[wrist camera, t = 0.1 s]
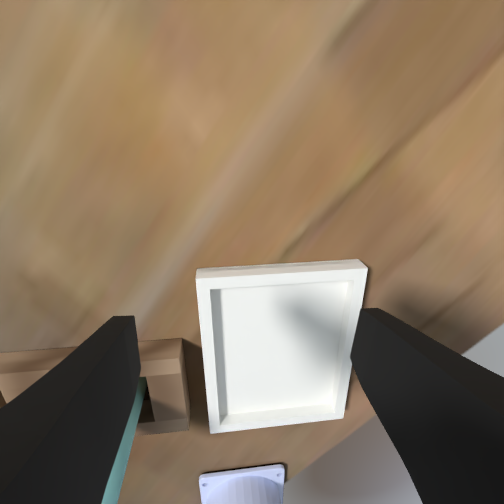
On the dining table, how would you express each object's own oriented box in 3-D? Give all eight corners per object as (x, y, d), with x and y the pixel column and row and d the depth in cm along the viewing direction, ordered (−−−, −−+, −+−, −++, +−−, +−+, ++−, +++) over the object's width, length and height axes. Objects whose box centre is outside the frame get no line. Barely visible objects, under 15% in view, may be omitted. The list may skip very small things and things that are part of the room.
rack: (181, 338, 21) (179, 358, 20) (190, 407, 24) (188, 430, 22) (-98, 361, 20) (-130, 385, 18) (-53, 432, 22) (-77, 460, 21)
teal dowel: (150, 393, 23) (121, 517, 16) (107, 397, 23) (58, 526, 16) (144, 362, 22) (109, 481, 15) (98, 366, 22) (40, 490, 14)
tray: (336, 403, 26) (343, 418, 25) (210, 417, 25) (210, 433, 24) (358, 259, 21) (367, 268, 19) (196, 268, 19) (195, 278, 18)
